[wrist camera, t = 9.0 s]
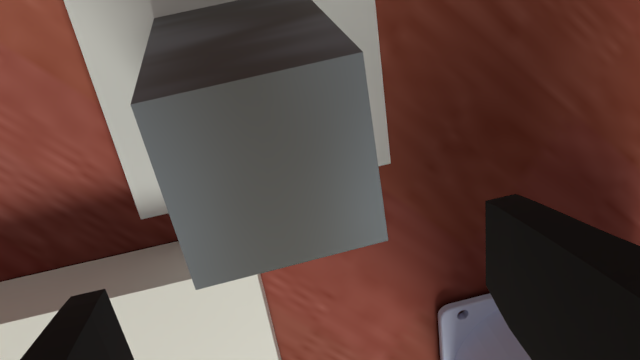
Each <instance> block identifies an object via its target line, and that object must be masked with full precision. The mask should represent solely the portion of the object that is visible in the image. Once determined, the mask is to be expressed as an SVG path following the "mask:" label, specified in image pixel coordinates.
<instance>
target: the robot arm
mask: <svg viewBox="0 0 640 360" xmlns="http://www.w3.org/2000/svg"><path fill="white" fill-rule="evenodd" d="M486 286H487V288H488V290H489V292H490V293H489V294H485V295H481V296H477V297H473V298H469V299H465V300H462V301H458V302H454V303H450V304H447V305H444V306H443V307H442V308H441V309H440V310H439V312H438V327H439V344H440V360H640V246H638V245H636V244H633V243H631V242H628V241H626V240H623V239H621V238H618V237H616V236H614V235H611V234H609V233H606V232H604V231H602V230H599V229H597V228H595V227H592V226H590V225H588V224H585V223H583V222H581V221H579V220H576V219H574V218H572V217H570V216H567V215H565V214H563V213H560V212H558V211H556V210H554V209H551V208H549V207H547V206H544V205H542V204H540V203H537V202H535V201H533V200H530V199H528V198H525V197H522V196H520V195H517V194H514V195H509V196H505V197H501V198H496V199H492V200H488V201H486ZM462 310H464V311H463V312H462V313H460V314H458V313H459V312H460V311H462ZM20 360H134V358H133V355H132V353H131V350H130V348H129V346H128V343H127V341H126V338H125V336H124V333H123V331H122V328H121V326H120V324H119V321H118V319H117V316H116V314H115V311H114V309H113V306H112V304H111V302H110V299H109V297H108V294H107V292H106V289H101V290H97V291H93V292H88V293H84V294H79V295H75V296H71V297H70V298H69V299H68V300H67V301H66V303H65V304H64V305H63V306H62V307H61V309H60V310H59V311H58V312H57V313H56V315H55V316H54V317H53V318H52V320H51V321H50V322H49V324H48V325H47V326H46V327H45V329H44V330H43V331H42V332H41V334H40V335H39V336H38V338H37V339H36V340H35V341H34V343H33V344H32V345H31V346H30V348H29V349H28V350H27V351H26V353H25V354H24V355H23V356H22V358H21V359H20Z"/></svg>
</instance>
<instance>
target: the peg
mask: <svg viewBox="0 0 640 360" xmlns="http://www.w3.org/2000/svg"><path fill="white" fill-rule="evenodd" d="M130 105H131V108H132V111H133V113H134V116H135V119H136V122H137V125H138V128H139V130H140V133H141V136H142V139H143V142H144V145H145V147H146V150H147V153H148V156H149V159H150V162H151V165H152V167H153V170H154V173H155V176H156V179H157V182H158V184H159V187H160V190H161V193H162V196H163V199H164V201H165V204H166V207H167V210H168V213H169V216H170V218H171V221H172V224H173V227H174V230H175V233H176V235H177V238H178V241H179V244H180V247H181V250H182V252H183V255H184V258H185V261H186V264H187V267H188V270H189V272H190V275H191V278H192V281H193V284H194V287H195V289H196V290H198V289H202V288H206V287H210V286H214V285H218V284H222V283H226V282H229V281H233V280H237V279H241V278H245V277H249V276H253V275H256V274H260V273H264V272H268V271H272V270H276V269H280V268H284V267H287V266H291V265H295V264H299V263H303V262H307V261H311V260H314V259H318V258H322V257H326V256H330V255H334V254H338V253H342V252H345V251H349V250H353V249H357V248H361V247H365V246H369V245H373V244H376V243H380V242H384V241H388V235H387V227H386V220H385V212H384V205H383V197H382V190H381V183H380V175H379V168H378V160H377V153H376V145H375V138H374V131H373V123H372V116H371V108H370V101H369V93H368V86H367V78H366V71H365V64H364V56H363V51H362V50H361V49H360V48H359V47H358V46H357V45H356V44H355V43H354V42H353V41H352V40H351V39H350V38H349V37H348V36H347V35H346V34H345V33H344V32H343V31H342V30H341V29H340V28H339V27H338V26H337V25H336V24H335V23H334V22H333V21H332V20H331V19H330V18H329V17H328V16H327V15H326V14H325V13H324V12H323V11H322V10H321V9H320V8H319V7H318V6H317V5H316V4H315V3H314V2H313V1H312V0H237V1H232V2H227V3H223V4H218V5H213V6H209V7H204V8H199V9H195V10H190V11H185V12H180V13H176V14H171V15H166V16H162V17H157V18H154V20H153V24H152V27H151V31H150V35H149V38H148V42H147V46H146V49H145V53H144V57H143V60H142V64H141V68H140V71H139V75H138V79H137V82H136V86H135V89H134V93H133V97H132V100H131V104H130Z"/></svg>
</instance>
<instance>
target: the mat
mask: <svg viewBox="0 0 640 360" xmlns="http://www.w3.org/2000/svg"><path fill="white" fill-rule="evenodd" d="M232 1H237V0H64V3H65V6H66V9H67V11H68V14H69V17H70V20H71V23H72V26H73V28H74V31H75V34H76V37H77V40H78V43H79V45H80V48H81V51H82V54H83V57H84V60H85V62H86V65H87V68H88V71H89V74H90V77H91V79H92V82H93V85H94V88H95V91H96V94H97V96H98V99H99V102H100V105H101V108H102V111H103V113H104V116H105V119H106V122H107V125H108V128H109V130H110V133H111V136H112V139H113V142H114V145H115V147H116V150H117V153H118V156H119V159H120V162H121V165H122V167H123V170H124V173H125V176H126V179H127V182H128V184H129V187H130V190H131V193H132V196H133V199H134V201H135V204H136V207H137V210H138V213H139V216H140V218H141V219H146V218H150V217H154V216H159V215H163V214H168V210H167V207H166V204H165V201H164V199H163V196H162V193H161V190H160V187H159V184H158V182H157V179H156V176H155V173H154V170H153V167H152V165H151V162H150V159H149V156H148V153H147V150H146V147H145V145H144V142H143V139H142V136H141V133H140V130H139V128H138V125H137V122H136V119H135V116H134V113H133V111H132V108H131V105H130V104H131V100H132V97H133V93H134V89H135V86H136V82H137V79H138V75H139V71H140V68H141V64H142V60H143V57H144V53H145V49H146V46H147V42H148V38H149V35H150V31H151V27H152V24H153V20H154V18H157V17H162V16H166V15H171V14H176V13H180V12H185V11H190V10H195V9H199V8H204V7H209V6H213V5H218V4H223V3H227V2H232ZM312 1H313V2H314V3H315V4H316V5H317V6H318V7H319V8H320V9H321V10H322V11H323V12H324V13H325V14H326V15H327V16H328V17H329V18H330V19H331V20H332V21H333V22H334V23H335V24H336V25H337V26H338V27H339V28H340V29H341V30H342V31H343V32H344V33H345V34H346V35H347V36H348V37H349V38H350V39H351V40H352V41H353V42H354V43H355V44H356V45H357V46H358V47H359V48H360V49H361V50H362V51H363V56H364V64H365V71H366V78H367V86H368V93H369V101H370V108H371V116H372V123H373V131H374V138H375V145H376V153H377V160H378V166H382V165H386V164H391V160H390V150H389V140H388V129H387V119H386V109H385V98H384V88H383V77H382V67H381V57H380V46H379V36H378V26H377V15H376V5H375V0H312Z"/></svg>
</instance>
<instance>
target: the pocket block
mask: <svg viewBox="0 0 640 360" xmlns="http://www.w3.org/2000/svg"><path fill="white" fill-rule="evenodd" d="M101 289H106V292H107V294H108V297H109V299H110V302H111V304H112V306H113V309H114V311H115V314H116V316H117V319H118V321H119V324H120V326H121V328H122V331H123V333H124V336H125V338H126V341H127V343H128V346H129V348H130V350H131V353H132V355H133V358H134V360H281V356H280V352H279V348H278V344H277V340H276V336H275V332H274V328H273V323H272V319H271V315H270V311H269V307H268V303H267V299H266V295H265V291H264V287H263V283H262V279H261V275H260V274H256V275H253V276H249V277H245V278H241V279H237V280H233V281H229V282H226V283H222V284H218V285H214V286H210V287H206V288H202V289H198V290H196V289H195V287H194V284H193V281H192V278H191V275H190V272H189V270H188V267H187V264H186V261H185V258H184V255H183V252H182V250H181V247H180V244H179V241H176V242H172V243H168V244H163V245H159V246H155V247H150V248H146V249H142V250H137V251H133V252H129V253H124V254H120V255H116V256H111V257H107V258H102V259H98V260H94V261H89V262H85V263H81V264H76V265H72V266H68V267H63V268H59V269H55V270H50V271H46V272H42V273H37V274H33V275H29V276H24V277H20V278H15V279H11V280H7V281H2V282H0V360H20V359H21V358H22V356H23V355H24V354H25V353H26V351H27V350H28V349H29V348H30V346H31V345H32V344H33V343H34V341H35V340H36V339H37V338H38V336H39V335H40V334H41V332H42V331H43V330H44V329H45V327H46V326H47V325H48V324H49V322H50V321H51V320H52V318H53V317H54V316H55V315H56V313H57V312H58V311H59V310H60V309H61V307H62V306H63V305H64V304H65V303H66V301H67V300H68V299H69V298H70V297H71V296H75V295H79V294H84V293H88V292H93V291H97V290H101Z"/></svg>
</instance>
